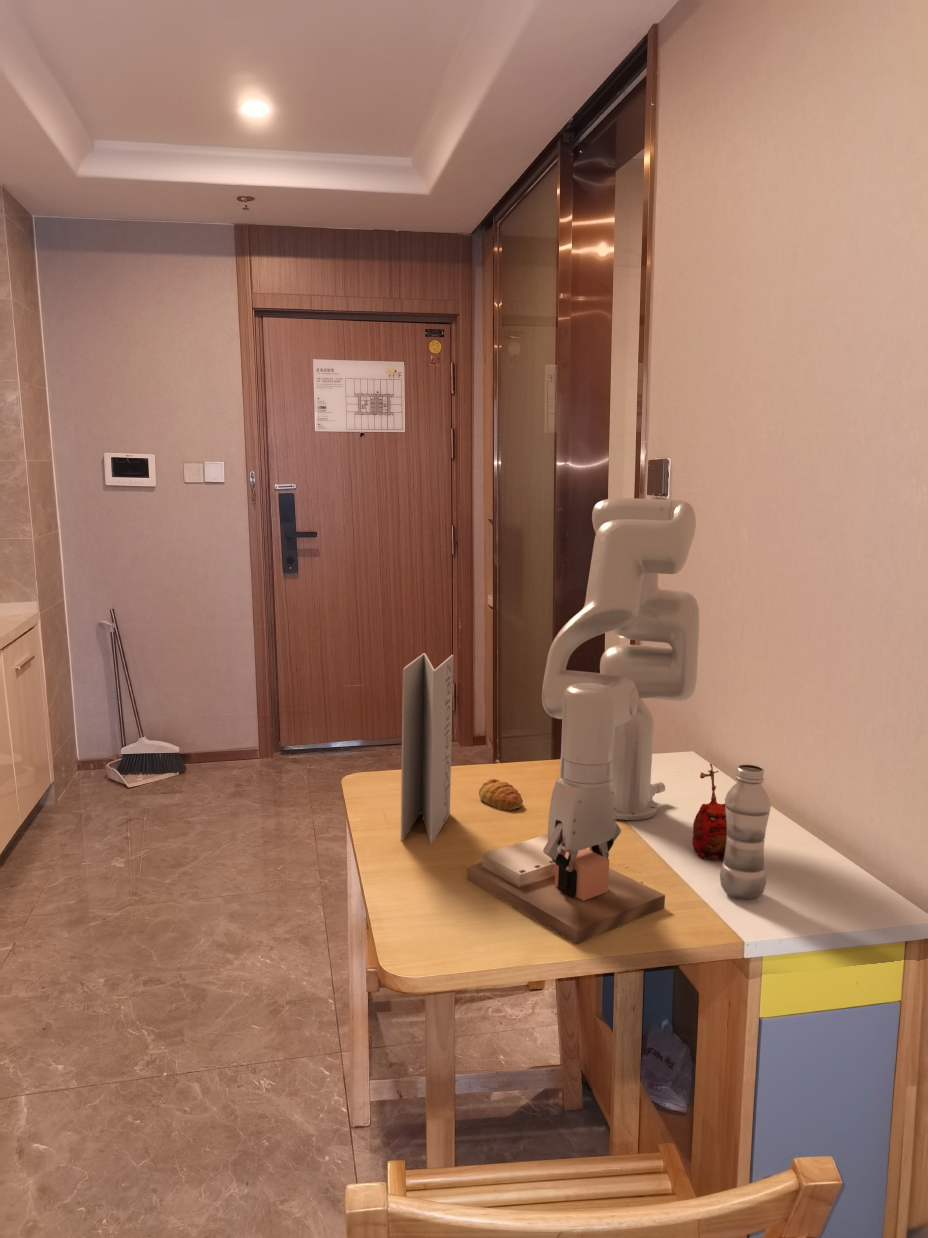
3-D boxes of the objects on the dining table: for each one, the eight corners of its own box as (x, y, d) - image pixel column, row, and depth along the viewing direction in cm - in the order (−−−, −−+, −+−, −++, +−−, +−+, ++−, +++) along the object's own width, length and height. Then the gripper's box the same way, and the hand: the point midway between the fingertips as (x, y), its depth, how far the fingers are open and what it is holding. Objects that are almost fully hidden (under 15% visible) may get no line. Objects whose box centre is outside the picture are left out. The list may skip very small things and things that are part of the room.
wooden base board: (552, 852, 150) (553, 829, 150) (664, 908, 132) (665, 881, 131) (467, 879, 140) (467, 854, 139) (576, 944, 121) (577, 915, 120)
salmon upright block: (578, 877, 136) (580, 845, 136) (607, 891, 132) (609, 859, 131) (554, 885, 133) (555, 853, 132) (583, 901, 129) (584, 867, 128)
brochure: (431, 843, 153) (435, 671, 148) (400, 840, 154) (402, 668, 149) (449, 813, 167) (453, 654, 162) (421, 811, 168) (423, 653, 163)
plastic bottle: (758, 909, 132) (769, 778, 129) (712, 897, 136) (721, 769, 132) (769, 892, 137) (779, 766, 134) (725, 881, 141) (734, 758, 138)
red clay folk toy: (700, 864, 147) (706, 776, 145) (683, 846, 154) (689, 762, 152) (744, 862, 148) (750, 774, 146) (725, 845, 155) (731, 761, 153)
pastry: (531, 808, 171) (532, 789, 170) (503, 815, 167) (503, 795, 167) (501, 793, 179) (502, 775, 178) (474, 800, 175) (474, 781, 174)
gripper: (608, 753, 138) (603, 865, 140) (524, 773, 127) (520, 893, 130) (646, 766, 132) (639, 883, 135) (561, 788, 122) (555, 914, 124)
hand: (581, 887), depth 132 cm, fingers closed on salmon upright block, 5 cm apart
